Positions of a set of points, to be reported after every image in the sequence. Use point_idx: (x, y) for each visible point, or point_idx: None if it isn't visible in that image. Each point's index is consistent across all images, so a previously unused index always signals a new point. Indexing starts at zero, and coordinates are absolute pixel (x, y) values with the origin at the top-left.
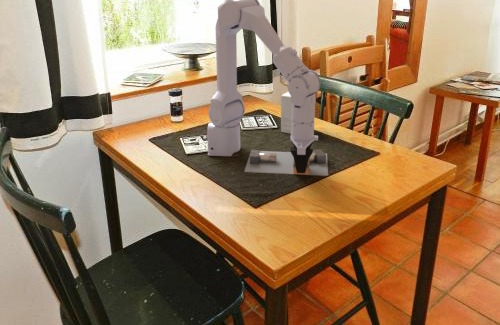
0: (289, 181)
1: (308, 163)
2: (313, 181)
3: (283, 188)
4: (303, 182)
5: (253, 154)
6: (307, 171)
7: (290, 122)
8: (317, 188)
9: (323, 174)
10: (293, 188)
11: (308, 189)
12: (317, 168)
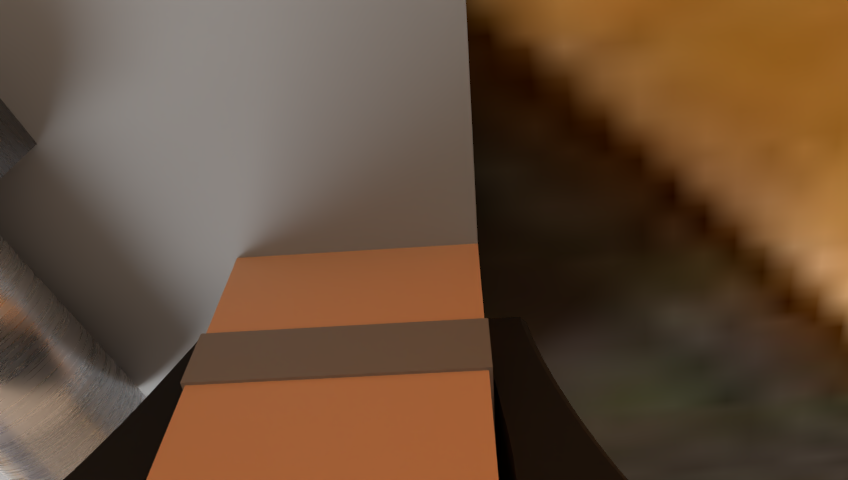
0: (595, 402)
1: (488, 391)
2: (573, 135)
3: (776, 436)
4: (614, 260)
5: None
6: (480, 293)
7: None
8: (815, 58)
9: (427, 8)
10: (785, 349)
11: (834, 182)
12: (205, 131)
